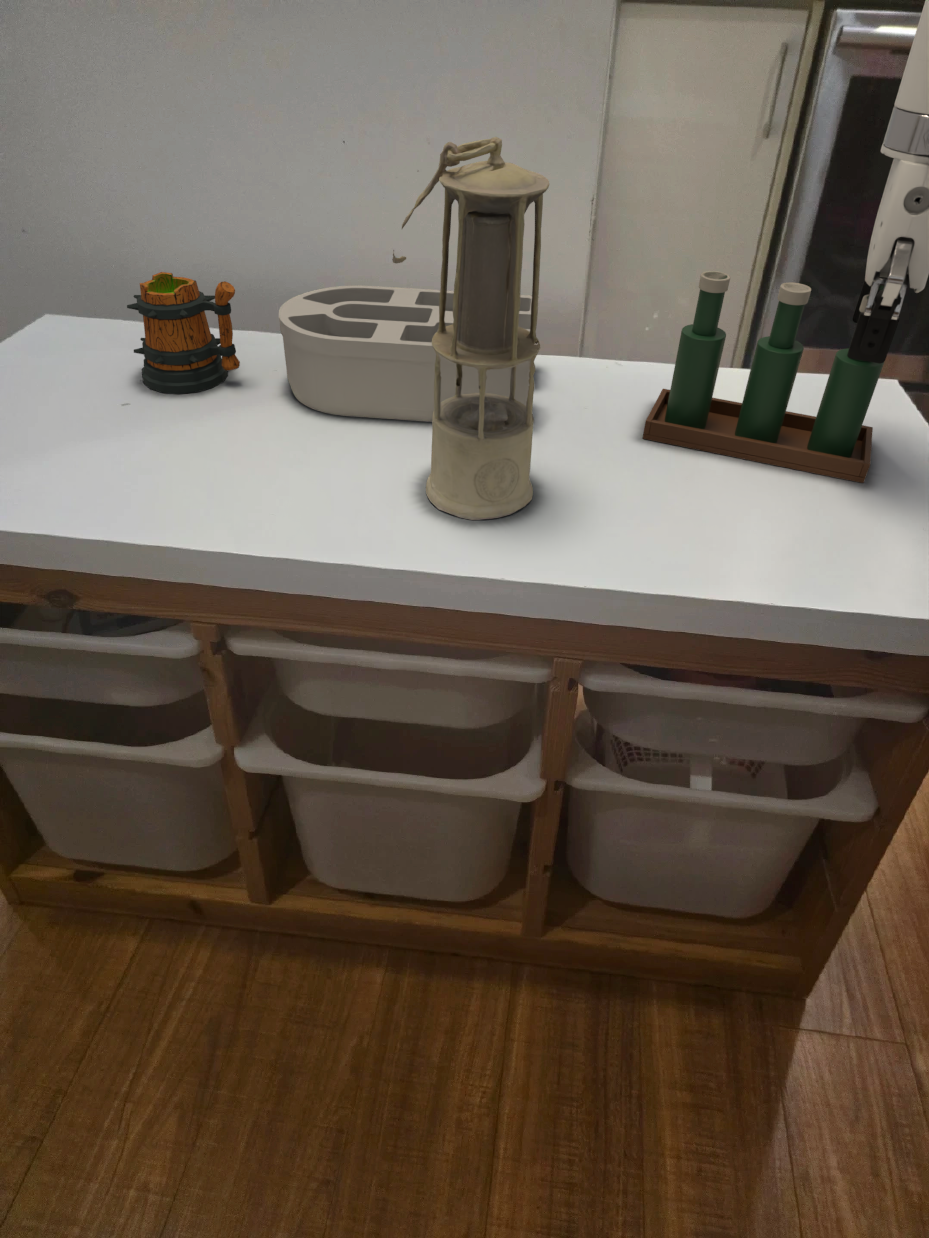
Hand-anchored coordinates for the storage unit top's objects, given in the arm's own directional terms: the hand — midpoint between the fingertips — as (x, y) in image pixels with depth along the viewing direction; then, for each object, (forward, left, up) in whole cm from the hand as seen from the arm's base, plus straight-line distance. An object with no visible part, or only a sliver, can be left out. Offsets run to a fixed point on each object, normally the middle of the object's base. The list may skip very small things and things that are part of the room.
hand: (867, 341), depth 81 cm
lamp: (+38, +5, -12) cm, 40 cm away
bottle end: (+13, -7, -12) cm, 19 cm away
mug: (+67, -21, -12) cm, 72 cm away
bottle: (0, 0, -12) cm, 12 cm away
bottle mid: (+7, -3, -12) cm, 14 cm away
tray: (+7, -3, -12) cm, 14 cm away
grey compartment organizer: (+43, -18, -12) cm, 48 cm away
